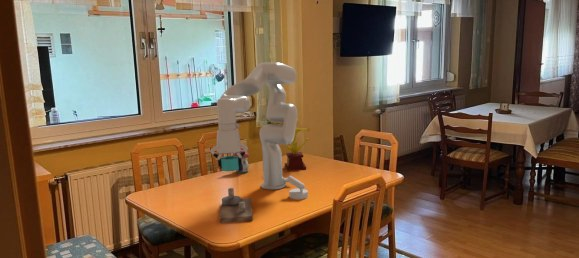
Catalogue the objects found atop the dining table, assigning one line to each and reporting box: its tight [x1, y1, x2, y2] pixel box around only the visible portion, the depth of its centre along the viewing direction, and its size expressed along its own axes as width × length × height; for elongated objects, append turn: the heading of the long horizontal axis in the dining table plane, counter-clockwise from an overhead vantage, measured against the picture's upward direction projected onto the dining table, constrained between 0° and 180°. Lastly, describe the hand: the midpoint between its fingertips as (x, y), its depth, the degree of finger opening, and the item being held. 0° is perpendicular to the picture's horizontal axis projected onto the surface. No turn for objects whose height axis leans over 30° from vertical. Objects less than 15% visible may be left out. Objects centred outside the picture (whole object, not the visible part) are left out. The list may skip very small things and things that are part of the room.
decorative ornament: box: [232, 147, 250, 175], centre depth 254 cm, size 9×6×15 cm
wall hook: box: [286, 175, 309, 200], centre depth 208 cm, size 9×10×10 cm
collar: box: [221, 155, 239, 172], centre depth 193 cm, size 7×7×5 cm
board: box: [219, 187, 254, 224], centre depth 191 cm, size 13×23×8 cm, turn 6°
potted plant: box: [284, 117, 310, 172], centre depth 258 cm, size 14×16×30 cm
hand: (230, 167), depth 194 cm, fingers closed on collar, 7 cm apart
